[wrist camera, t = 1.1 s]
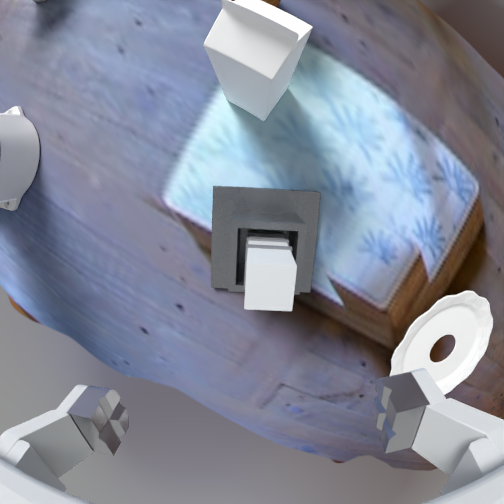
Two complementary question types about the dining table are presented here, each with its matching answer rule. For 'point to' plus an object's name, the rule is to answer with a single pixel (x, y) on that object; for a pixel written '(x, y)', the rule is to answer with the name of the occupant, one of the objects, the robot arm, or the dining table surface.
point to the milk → (255, 53)
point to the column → (269, 271)
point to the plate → (443, 323)
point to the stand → (261, 217)
